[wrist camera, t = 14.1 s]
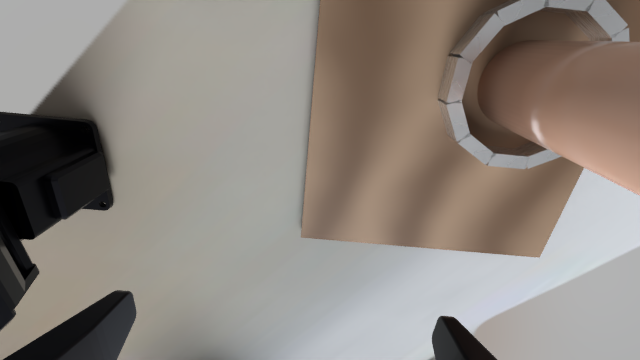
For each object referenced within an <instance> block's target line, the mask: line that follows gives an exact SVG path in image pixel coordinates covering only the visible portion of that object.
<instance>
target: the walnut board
mask: <svg viewBox="0 0 640 360" xmlns="http://www.w3.org/2000/svg"><path fill="white" fill-rule="evenodd" d="M508 1H510V0H320V10H319V22H318V34H317V47H316V59H315V71H314V84H313V96H312V108H311V120H310V133H309V145H308V157H307V169H306V182H305V194H304V206H303V218H302V231H301V237H302V238H314V239H326V240H338V241H350V242H361V243H373V244H385V245H397V246H409V247H421V248H433V249H444V250H456V251H468V252H480V253H492V254H504V255H516V256H527V257H540V255H541V253H542V251H543V249H544V247H545V245H546V243H547V241H548V239H549V237H550V235H551V233H552V231H553V229H554V227H555V225H556V223H557V221H558V219H559V217H560V215H561V213H562V211H563V209H564V207H565V205H566V203H567V201H568V199H569V197H570V195H571V193H572V191H573V189H574V187H575V185H576V183H577V181H578V179H579V177H580V175H581V172H582V170H583V168H584V167H582V166H580V165H578V164H576V163H574V162H572V161H570V160H568V159H566V158H564V157H559V158H556V159H553V160H551V161H548V162H545V163H543V164H540V165H537V166H534V167H532V168H529V169H527V168H525V169H516V168H506V167H495V166H487V165H485V164H484V163H482V162H481V161H480V160H478V159H477V158H476V157H475V156H473V155H472V154H471V153H470V152H468V151H467V150H466V149H464V148H463V147H462V146H461V145H459V144H458V143H457V142H456V141H454V140H453V139H452V138H451V137H449V135H448V134H447V131H446V128H445V124H444V121H443V117H442V114H441V111H440V107H439V104H438V100H439V98H437V97H438V93H439V89H440V85H441V81H442V77H443V73H444V69H445V65H446V61H447V57H448V56H452V55H451V54H450V52H451V50H452V49H453V48H454V47H455V46H456V44H457V43H458V42H459V41H460V39H461V38H462V37H463V36H464V35H465V33H466V32H467V31H468V30H469V29H470V27H471V26H472V25H473V24H474V22H475V21H476V20H477V19H478V18H479V16H480V15H484V14H483V13H484V12H486V11H489V10H491V9H493V8H495V7H497V6H499V5H501V4H503V3H506V2H508ZM606 1H607V2H608V3H609V4H610V5H611V7H612V8H613V9H614V10H615V11H616V12H617V13H618V14H619V15H620V17H621V18H622V19H623V20H624V21H625V22H626V23H627V24H628V25H627V26H626V27H625V28H629V42H640V0H606ZM526 40H557V41H589V39H588V37H587V36H586V35H585V34H584V33H583V31H582V30H581V29H580V28H579V27H578V26H577V25H576V24H575V23H574V22H573V21H572V20H571V19H570V18H569V17H568V16H567V15H566V14H565V13H558V12H549V11H540V10H538V11H536V12H534V13H531V14H529V15H527V16H525V17H523V18H520V19H518V20H516V21H514V22H512V23H510V24H507V25H505V26H503V27H502V29H501V30H500V31H499V32H498V33H497V34H496V35H495V37H494V38H493V39H492V40H491V41H490V42H489V44H488V45H487V46H486V47H485V48H484V49H483V51H482V52H481V53H480V54H479V55H478V56H477V57H476V59H475V60H474V61H473V63H472V66H471V70H470V73H469V77H468V80H467V84H466V87H465V91H464V94H463V98H462V105H463V109H464V113H465V117H466V120H467V124H468V128H469V132H470V134H471V135H472V136H473V137H474V138H476V139H477V140H478V141H479V142H481V143H482V144H483V145H484V146H494V147H505V148H516V147H519V146H521V145H524V144H527V143H529V142H532V141H530V140H528V139H526V138H524V137H522V136H520V135H518V134H516V133H514V132H512V131H510V130H508V129H506V128H504V127H502V126H500V125H498V124H496V123H494V122H492V121H491V120H489V119H488V118H487V117H486V116H485V115H484V114H483V112H482V111H481V109H480V106H479V103H478V98H477V91H478V84H479V80H480V78H481V75H482V73H483V71H484V69H485V68H486V66H487V65H488V63H489V62H490V61H491V60H492V59H493V58H494V57H495V56H496V55H497V54H498V53H499V52H500V51H502V50H503V49H505V48H506V47H508V46H510V45H512V44H515V43H517V42H521V41H526Z"/></svg>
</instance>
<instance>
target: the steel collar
mask: <svg viewBox="0 0 640 360" xmlns="http://www.w3.org/2000/svg"><path fill="white" fill-rule="evenodd" d="M538 10H540V11H549V12H558V13H565V14H566V15H567V16H568V17H569V18H570V19H571V20H572V21H573V22H574V23H575V24H576V25H577V26H578V27H579V28H580V29H581V30H582V31H583V33H584V34H585V35H586V36H587V37H588V39H589V41H624V42H629V28H625V27H626V26H627V25H628V24H627V23H626V22H625V21H624V20H623V19H622V18H621V17H620V15H619V14H618V13H617V12H616V11H615V10H614V9H613V8H612V7H611V5H610V4H609V3H608V2H607V1H606V0H510V1H508V2H506V3H503V4H501V5H499V6H497V7H495V8H493V9H491V10H489V11H486V12H484V13H483V14H484V15H480V16H479V18H478V19H477V20H476V21H475V22H474V24H473V25H472V26H471V27H470V29H469V30H468V31H467V32H466V33H465V35H464V36H463V37H462V38H461V39H460V41H459V42H458V43H457V44H456V46H455V47H454V48H453V49H452V50H451V52H450V54H451V55H452V56H448V57H447V61H446V65H445V69H444V73H443V77H442V81H441V85H440V89H439V93H438V97H437V98H439V100H438V104H439V107H440V111H441V114H442V117H443V121H444V124H445V128H446V131H447V134H448V135H449V137H451V138H452V139H453V140H454V141H456V142H457V143H458V144H459V145H461V146H462V147H463V148H464V149H466V150H467V151H468V152H470V153H471V154H472V155H473V156H475V157H476V158H477V159H478V160H480V161H481V162H482V163H484V164H485V165H487V166H495V167H506V168H516V169H525V168H527V169H529V168H532V167H534V166H537V165H540V164H543V163H545V162H548V161H551V160H553V159H556V158H559V157H562V156H560V155H558V154H556V153H554V152H552V151H550V150H548V149H546V148H544V147H542V146H540V145H538V144H536V143H534V142H529V143H527V144H524V145H521V146H519V147H516V148H505V147H494V146H484V145H483V144H482V143H481V142H479V141H478V140H477V139H476V138H474V137H473V136H472V135H471V134H470V132H469V128H468V124H467V120H466V117H465V113H464V109H463V105H462V98H463V94H464V91H465V87H466V84H467V80H468V77H469V73H470V70H471V66H472V63H473V61H474V60H475V59H476V57H477V56H478V55H479V54H480V53H481V52H482V51H483V49H484V48H485V47H486V46H487V45H488V44H489V42H490V41H491V40H492V39H493V38H494V37H495V35H496V34H497V33H498V32H499V31H500V30H501V29H502V27H503V26H505V25H507V24H510V23H512V22H514V21H516V20H518V19H520V18H523V17H525V16H527V15H529V14H531V13H534V12H536V11H538Z"/></svg>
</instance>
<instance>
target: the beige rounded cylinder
mask: <svg viewBox="0 0 640 360" xmlns="http://www.w3.org/2000/svg"><path fill="white" fill-rule="evenodd" d="M477 98H478V103H479V106H480V109H481V111H482V112H483V114H484V115H485V116H486V117H487V118H488V119H489V120H491V121H492V122H494V123H496V124H498V125H500V126H502V127H504V128H506V129H508V130H510V131H512V132H514V133H516V134H518V135H520V136H522V137H524V138H526V139H528V140H530V141H532V142H534V143H536V144H538V145H540V146H542V147H544V148H546V149H548V150H550V151H552V152H554V153H556V154H558V155H560V156H562V157H564V158H566V159H568V160H570V161H572V162H574V163H576V164H578V165H580V166H582V167H584V168H586V169H588V170H590V171H592V172H594V173H596V174H598V175H600V176H602V177H604V178H606V179H608V180H610V181H612V182H614V183H616V184H618V185H620V186H622V187H624V188H626V189H628V190H630V191H632V192H634V193H636V194H638V195H640V42H624V41H557V40H526V41H521V42H517V43H515V44H512V45H510V46H508V47H506V48H505V49H503V50H502V51H500V52H499V53H498V54H497V55H496V56H495V57H494V58H493V59H492V60H491V61H490V62H489V63H488V65H487V66H486V68H485V69H484V71H483V73H482V75H481V78H480V80H479V84H478V91H477Z"/></svg>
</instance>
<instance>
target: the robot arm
mask: <svg viewBox="0 0 640 360" xmlns="http://www.w3.org/2000/svg"><path fill="white" fill-rule="evenodd" d="M85 126H87V127H88V129H89V131H88V130H86V128H85ZM103 202H105V203H106V204H104V203H103ZM112 206H113V199H112V195H111V190H110V183H109V179H108V174H107V170H106V165H105V160H104V156H103V153H102V149H101V144H100V140H99V135H98V131H97V127H96V125H95V124H94V123H93V122H92V121H89V120H82V119H71V118H61V117H50V116H39V115H29V114H18V113H6V112H0V331H1V330H2V329H3V328H4V327H5V326H6V325H7V324H8V323H9V322H10V321H11V320H12V319H13V318H14V316H15V315H16V312H15V310H14V309H15V307H16V306H17V305H18V303H19V302H20V300H21V299H22V297H23V296H24V294H25V293H26V291H27V290H28V289H29V287H30V286H31V284H32V283H33V281H34V280H35V278H36V277H37V275H38V274H39V270H38V268H37V266H36V264H33V263H32V261H31V259H30V258H29V256H28V254H27V252H26V250H25V248H24V246H23V244H22V242H21V241H22V240H23V239H29V240H32V239H34V238H36V237H37V236H39V235H40V234H42V233H43V232H45V231H46V230H47V229H49V228H50V227H52V226H53V225H55V224H56V223H57V222H59V221H60V220H62V219H67V218H69V217H70V216H72V215H73V214H74V213H76V212H77V211H79V210H80V209H93V210H108V209H109V208H111V207H112ZM135 318H136V307H135V303H134V298H133V294H132V293H131V292H130V291H121V290H117V291H114V292H112V293H110V294H109V295H107V296H105V297H104V298H102V299H101V300H99V301H97V302H96V303H94V304H92V305H91V306H89V307H88V308H86V309H84V310H83V311H81V312H79V313H78V314H76V315H75V316H73V317H71V318H70V319H68V320H66V321H65V322H63V323H62V324H60V325H58V326H57V327H55V328H53V329H52V330H50V331H49V332H47V333H45V334H44V335H42V336H40V337H39V338H37V339H36V340H34V341H32V342H31V343H29V344H27V345H26V346H24V347H23V348H21V349H19V350H18V351H16V352H14V353H13V354H11V355H10V356H8V357H6V358H5V359H3V360H117V358H118V356H119V354H120V351H121V349H122V347H123V345H124V343H125V340H126V338H127V336H128V334H129V332H130V330H131V327H132V325H133V323H134V321H135ZM432 344H433V349H434V354H435V359H436V360H497V359H496V358H495V357H494V356H493V355H492V354H491V353H490V352H489V351H488V350H487V349H486V348H485V347H484V346H483V345H482V344H481V343H480V342H479V341H478V340H477V339H476V338H475V337H474V336H473V335H472V334H471V333H470V332H469V331H468V330H467V329H466V328H465V327H464V326H463V325H462V324H461V323H460V322H459V321H458V320H457V319H455V318H454V317H449V316H440V317H439V318H438V320H437V323H436V326H435V329H434V331H433V334H432Z"/></svg>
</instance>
